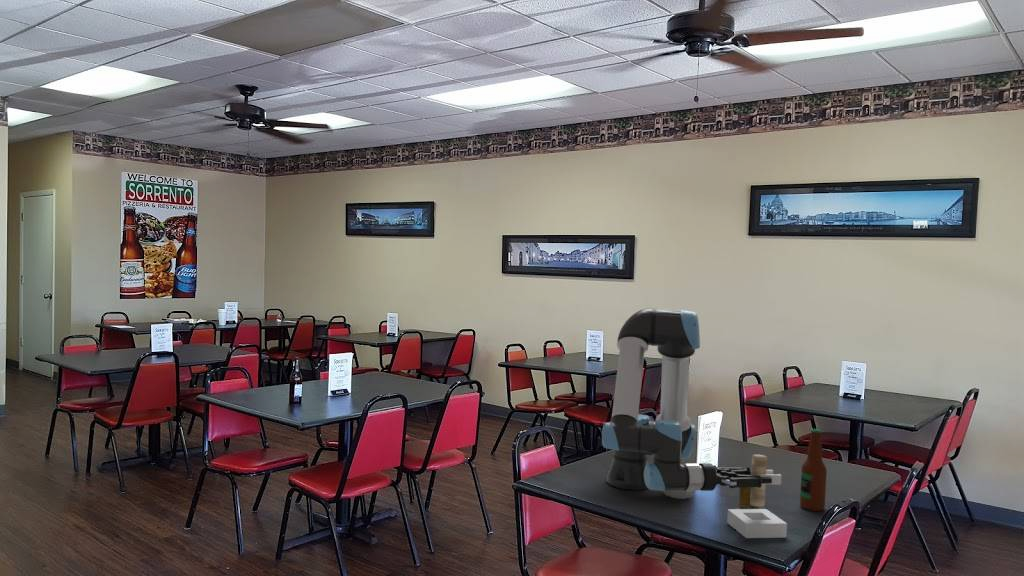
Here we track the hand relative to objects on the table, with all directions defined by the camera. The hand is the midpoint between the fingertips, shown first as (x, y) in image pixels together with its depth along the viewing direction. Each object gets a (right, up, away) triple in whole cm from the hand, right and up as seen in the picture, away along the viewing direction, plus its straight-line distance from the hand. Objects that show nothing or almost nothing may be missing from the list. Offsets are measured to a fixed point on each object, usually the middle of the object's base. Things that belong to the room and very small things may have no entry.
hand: (776, 477), depth 208 cm
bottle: (+19, -16, +22) cm, 33 cm away
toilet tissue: (-21, -14, +32) cm, 41 cm away
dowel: (-6, -8, -1) cm, 10 cm away
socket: (-6, -15, 0) cm, 16 cm away
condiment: (-2, -15, +16) cm, 22 cm away
